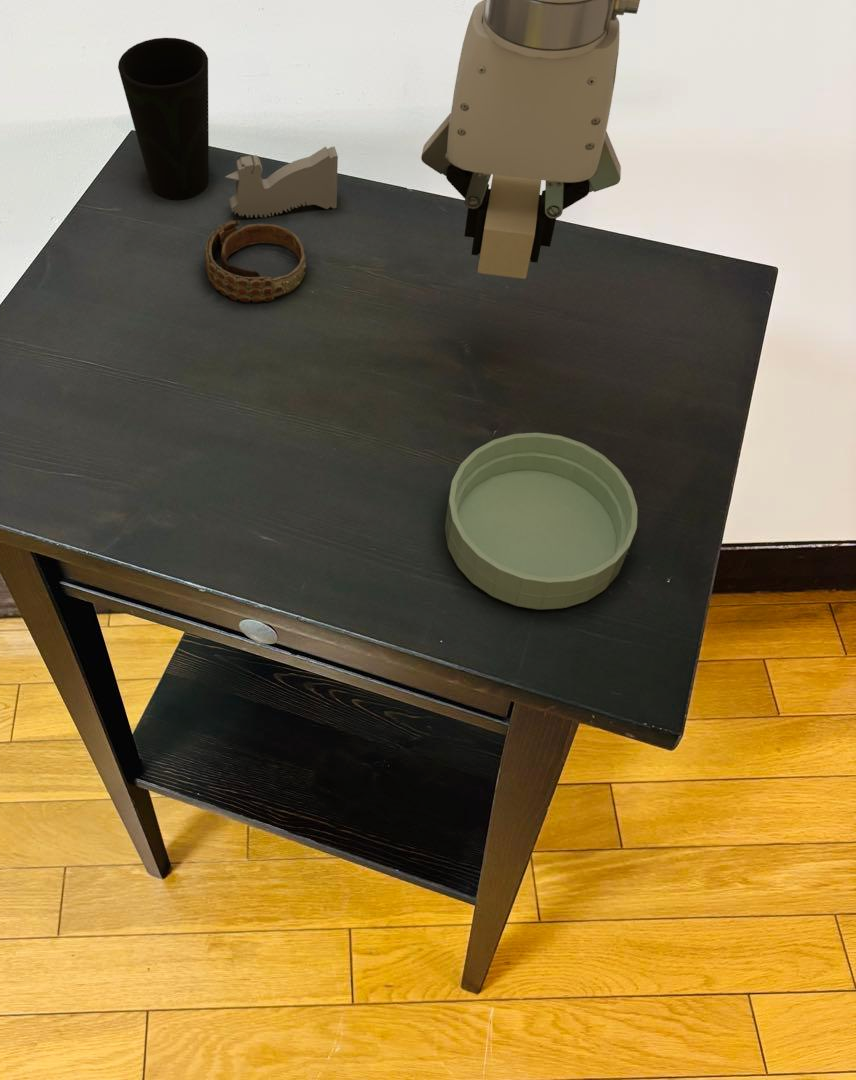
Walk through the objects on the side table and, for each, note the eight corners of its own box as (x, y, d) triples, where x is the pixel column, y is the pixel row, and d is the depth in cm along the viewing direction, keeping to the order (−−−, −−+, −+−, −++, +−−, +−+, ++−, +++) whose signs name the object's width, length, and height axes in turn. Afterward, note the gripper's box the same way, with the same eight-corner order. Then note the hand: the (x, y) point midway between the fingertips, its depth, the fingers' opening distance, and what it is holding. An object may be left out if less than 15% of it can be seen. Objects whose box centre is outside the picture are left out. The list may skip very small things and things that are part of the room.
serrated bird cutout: (336, 209, 98) (228, 221, 97) (333, 199, 99) (226, 212, 98) (337, 154, 93) (224, 167, 92) (334, 145, 94) (222, 158, 93)
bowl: (626, 480, 79) (639, 446, 76) (621, 627, 72) (635, 595, 69) (455, 456, 81) (461, 421, 78) (433, 597, 74) (438, 565, 70)
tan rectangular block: (486, 216, 80) (493, 171, 77) (533, 221, 80) (541, 176, 77) (477, 273, 77) (484, 228, 74) (525, 279, 76) (534, 234, 73)
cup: (236, 173, 101) (225, 53, 91) (188, 217, 97) (172, 97, 87) (171, 147, 103) (154, 28, 94) (122, 189, 100) (99, 69, 90)
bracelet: (190, 259, 94) (186, 232, 92) (276, 227, 96) (275, 200, 94) (235, 319, 90) (232, 292, 87) (324, 283, 92) (324, 256, 90)
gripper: (690, -18, 64) (621, 227, 80) (419, -43, 66) (402, 201, 81) (690, 50, 60) (617, 295, 75) (401, 21, 62) (387, 266, 77)
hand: (506, 244), depth 78 cm, fingers closed on tan rectangular block, 3 cm apart
